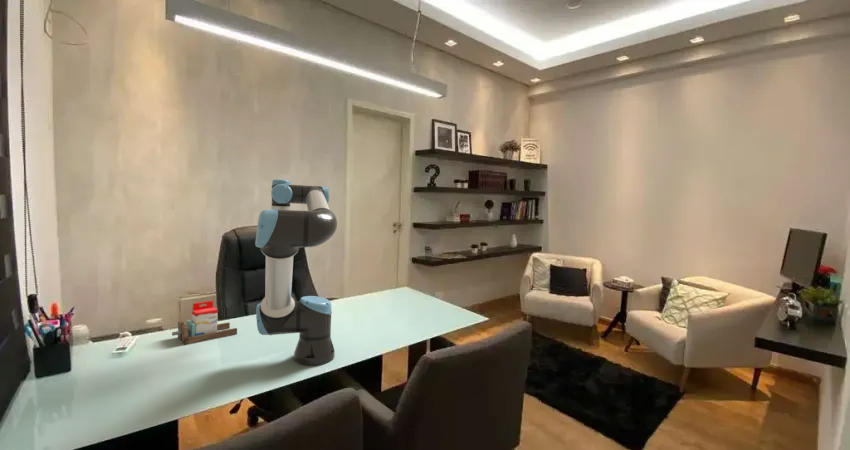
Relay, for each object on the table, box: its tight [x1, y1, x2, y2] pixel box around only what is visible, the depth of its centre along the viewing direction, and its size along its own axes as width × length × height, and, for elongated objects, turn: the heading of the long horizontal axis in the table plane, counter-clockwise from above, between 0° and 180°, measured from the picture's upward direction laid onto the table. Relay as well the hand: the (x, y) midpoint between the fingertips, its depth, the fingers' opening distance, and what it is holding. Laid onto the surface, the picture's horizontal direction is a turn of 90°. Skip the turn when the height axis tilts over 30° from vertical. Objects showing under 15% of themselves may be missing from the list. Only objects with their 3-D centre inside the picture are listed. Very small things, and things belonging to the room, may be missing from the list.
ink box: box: [191, 300, 218, 336], centre depth 162 cm, size 8×5×15 cm, turn 140°
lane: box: [177, 320, 238, 346], centre depth 164 cm, size 10×20×7 cm, turn 135°
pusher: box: [171, 319, 195, 337], centre depth 157 cm, size 7×7×7 cm
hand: (279, 265), depth 164 cm, fingers open, 13 cm apart
